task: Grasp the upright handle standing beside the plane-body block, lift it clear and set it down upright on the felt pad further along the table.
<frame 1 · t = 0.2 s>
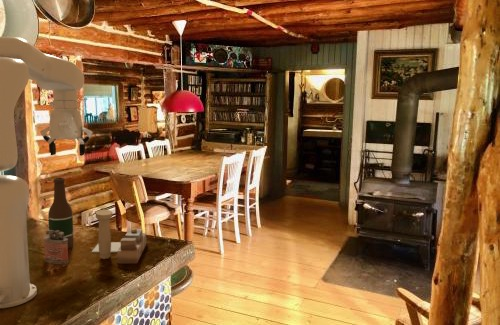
hand: (67, 155, 146), 31 cm above the counter, tool pointing down, fingers open, 9 cm apart
felt pad: (109, 247, 144), on the counter
handle: (105, 258, 135), on the counter
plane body: (132, 252, 140), on the counter
lighter: (56, 262, 131), on the counter
brown glass bottle: (62, 247, 143), on the counter
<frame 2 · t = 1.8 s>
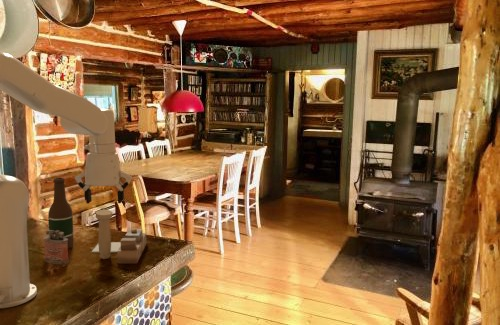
hand: (104, 202, 133), 18 cm above the counter, tool pointing down, fingers open, 9 cm apart
nothing on the counter moved.
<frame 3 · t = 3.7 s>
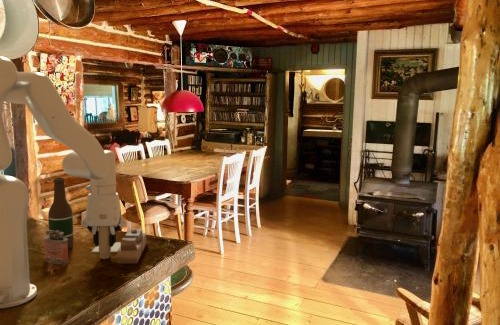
hand: (104, 244, 134), 4 cm above the counter, tool pointing down, fingers closed on handle, 4 cm apart
handle: (105, 258, 135), on the counter, touching gripper
everything else where it was.
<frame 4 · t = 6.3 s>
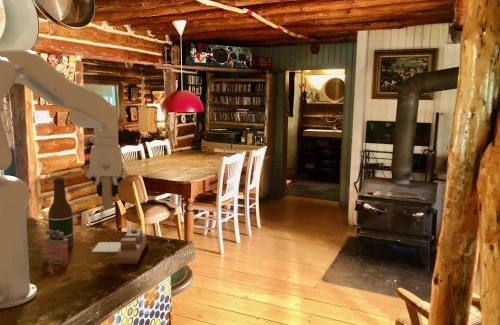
hand: (107, 195, 141), 18 cm above the counter, tool pointing down, fingers closed on handle, 4 cm apart
handle: (107, 208, 142), point 14 cm above the counter, touching gripper
everything else where it was.
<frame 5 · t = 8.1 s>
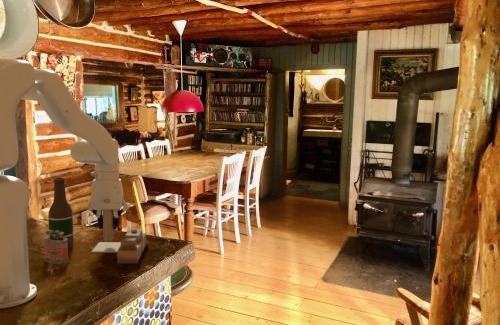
hand: (108, 227, 143), 7 cm above the counter, tool pointing down, fingers closed on handle, 4 cm apart
handle: (108, 240, 143), point 3 cm above the counter, touching gripper
everything else where it was.
when the fingers open (5 cm above the counter, at t = 8.9 s): handle stays where it is, resting on felt pad.
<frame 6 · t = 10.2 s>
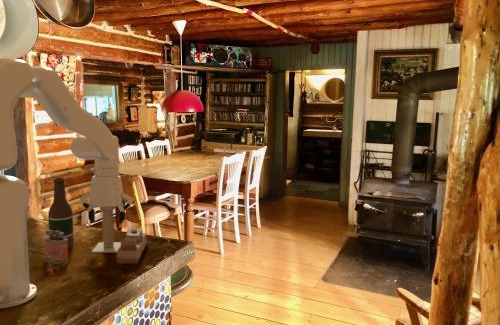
hand: (107, 222, 142), 9 cm above the counter, tool pointing down, fingers open, 9 cm apart
handle: (108, 247, 144), resting on felt pad
everything else where it was.
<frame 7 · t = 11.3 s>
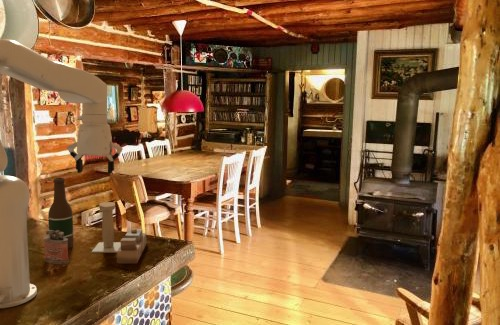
hand: (95, 172, 137), 27 cm above the counter, tool pointing down, fingers open, 9 cm apart
nothing on the counter moved.
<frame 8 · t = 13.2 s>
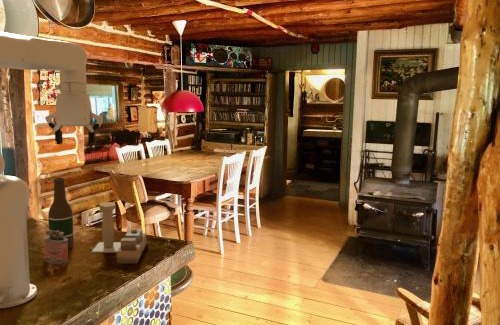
hand: (75, 144, 132), 36 cm above the counter, tool pointing down, fingers open, 9 cm apart
nothing on the counter moved.
at the end: handle inside the target area on the felt pad (0.2 cm from its centre), point 0.2 cm above the felt pad's base; handle tilted 0°; the gripper is holding nothing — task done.
